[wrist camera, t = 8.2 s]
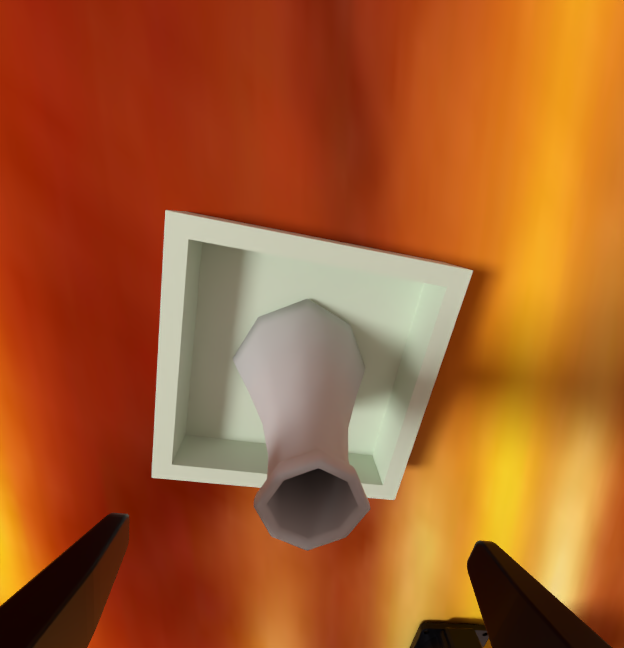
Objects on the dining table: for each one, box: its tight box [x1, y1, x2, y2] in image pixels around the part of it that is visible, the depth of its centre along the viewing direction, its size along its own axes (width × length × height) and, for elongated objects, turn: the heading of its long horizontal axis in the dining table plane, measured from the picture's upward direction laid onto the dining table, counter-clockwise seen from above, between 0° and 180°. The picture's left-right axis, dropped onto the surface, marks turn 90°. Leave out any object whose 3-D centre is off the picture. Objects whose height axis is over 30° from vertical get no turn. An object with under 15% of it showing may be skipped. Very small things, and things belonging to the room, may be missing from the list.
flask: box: [233, 299, 370, 550], centre depth 14 cm, size 7×7×10 cm
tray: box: [152, 210, 473, 500], centre depth 18 cm, size 14×14×3 cm
